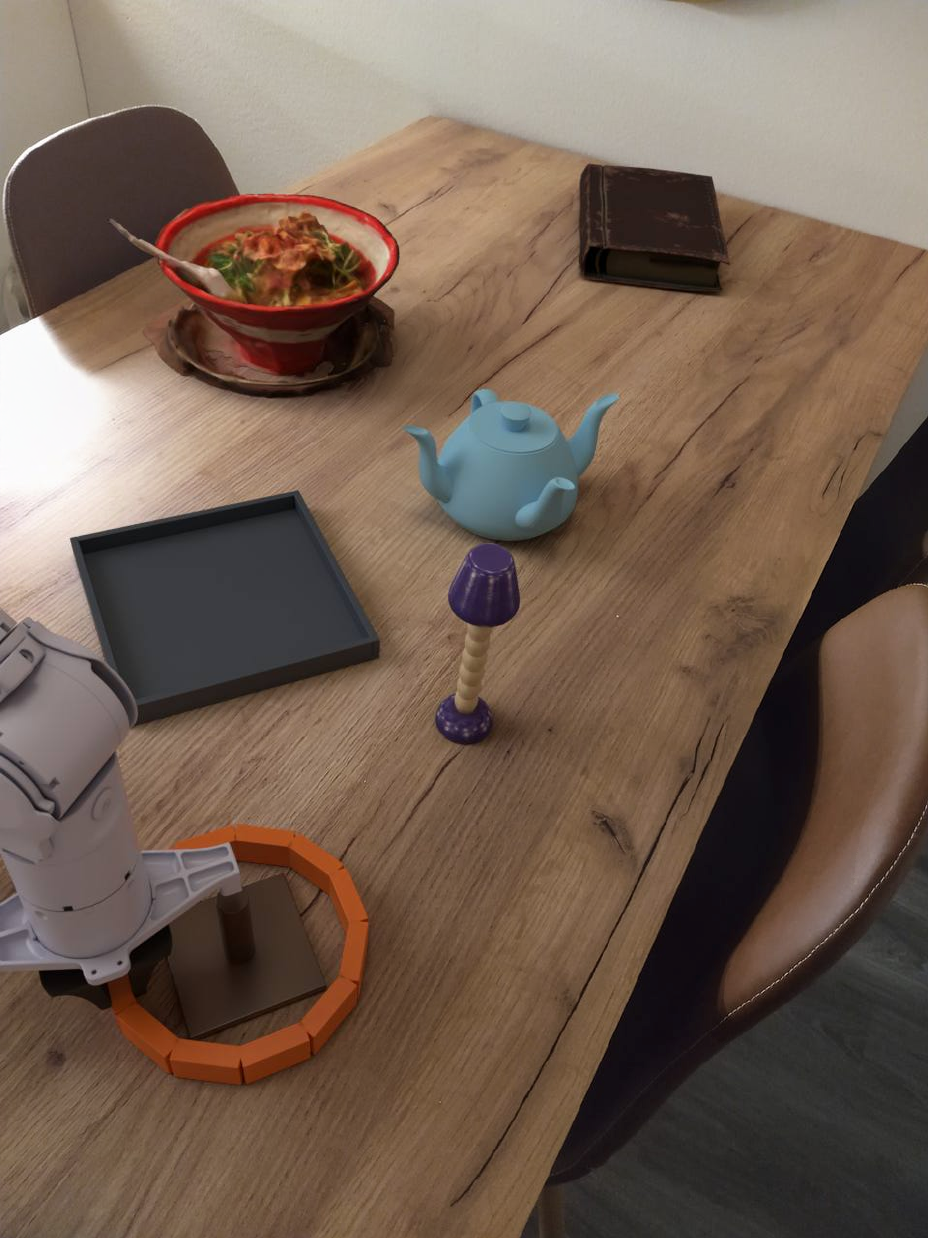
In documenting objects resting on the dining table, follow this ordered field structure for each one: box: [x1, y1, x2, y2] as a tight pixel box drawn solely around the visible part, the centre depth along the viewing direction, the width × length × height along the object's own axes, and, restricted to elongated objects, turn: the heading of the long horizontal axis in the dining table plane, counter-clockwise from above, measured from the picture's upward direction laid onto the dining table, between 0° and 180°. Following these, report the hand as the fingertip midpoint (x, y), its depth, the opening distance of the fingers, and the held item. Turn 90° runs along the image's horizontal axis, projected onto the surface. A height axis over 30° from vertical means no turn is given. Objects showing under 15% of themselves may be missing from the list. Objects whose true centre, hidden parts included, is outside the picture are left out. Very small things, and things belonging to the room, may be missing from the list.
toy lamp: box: [434, 542, 521, 745], centre depth 69 cm, size 5×5×17 cm
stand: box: [166, 872, 327, 1041], centre depth 59 cm, size 8×8×7 cm
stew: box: [107, 193, 401, 399], centre depth 102 cm, size 28×24×16 cm
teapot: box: [402, 388, 620, 542], centre depth 90 cm, size 15×15×10 cm
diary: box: [578, 163, 731, 293], centre depth 132 cm, size 19×25×5 cm
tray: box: [69, 489, 381, 726], centre depth 80 cm, size 19×19×2 cm
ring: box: [107, 823, 370, 1086], centre depth 60 cm, size 15×15×2 cm
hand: (120, 986), depth 57 cm, fingers closed on ring, 1 cm apart
